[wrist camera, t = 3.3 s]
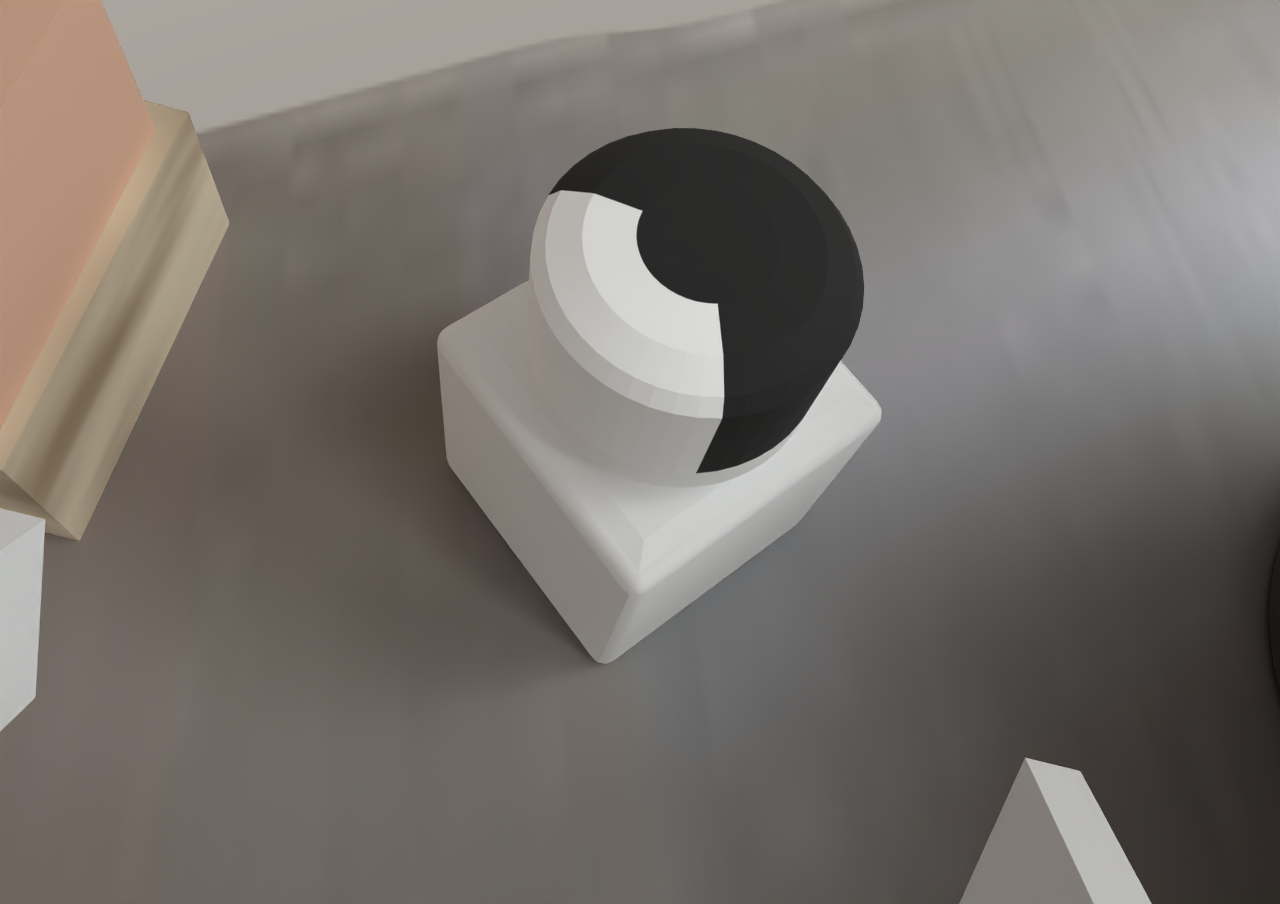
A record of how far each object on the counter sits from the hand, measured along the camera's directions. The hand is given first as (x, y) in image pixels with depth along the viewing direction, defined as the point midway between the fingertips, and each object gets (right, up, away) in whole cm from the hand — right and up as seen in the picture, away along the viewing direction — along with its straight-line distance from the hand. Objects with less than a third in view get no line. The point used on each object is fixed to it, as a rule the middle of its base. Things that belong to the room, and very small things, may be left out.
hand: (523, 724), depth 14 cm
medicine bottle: (+1, +2, +15) cm, 16 cm away
